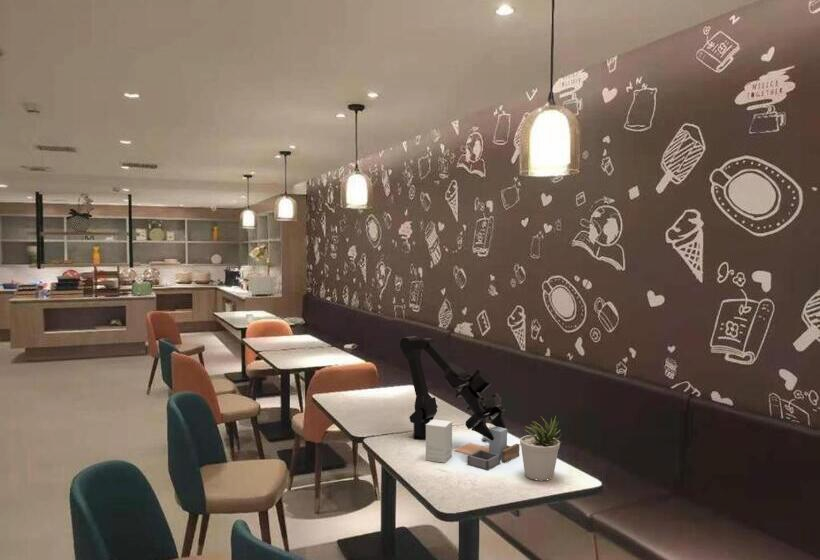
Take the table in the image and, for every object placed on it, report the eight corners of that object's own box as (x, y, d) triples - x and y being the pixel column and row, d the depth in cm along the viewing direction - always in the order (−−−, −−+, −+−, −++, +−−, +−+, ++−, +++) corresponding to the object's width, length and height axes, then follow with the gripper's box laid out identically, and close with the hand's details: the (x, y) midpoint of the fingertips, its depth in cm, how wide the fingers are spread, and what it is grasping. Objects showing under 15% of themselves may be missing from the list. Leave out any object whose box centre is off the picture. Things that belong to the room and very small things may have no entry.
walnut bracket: (482, 456, 207) (482, 445, 206) (497, 449, 214) (497, 438, 214) (505, 462, 201) (505, 451, 201) (519, 455, 209) (519, 444, 209)
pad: (454, 451, 212) (454, 449, 212) (469, 444, 220) (469, 442, 220) (478, 457, 206) (478, 456, 206) (492, 450, 214) (492, 448, 214)
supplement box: (452, 456, 207) (453, 421, 206) (444, 463, 200) (445, 426, 199) (433, 453, 210) (433, 418, 209) (424, 460, 203) (425, 423, 202)
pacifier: (478, 439, 227) (485, 443, 222) (478, 423, 227) (485, 426, 222) (495, 437, 230) (502, 441, 224) (495, 421, 230) (502, 425, 224)
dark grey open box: (467, 464, 199) (467, 455, 199) (480, 458, 205) (480, 449, 205) (487, 470, 194) (487, 461, 194) (500, 463, 200) (500, 454, 200)
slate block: (488, 457, 207) (489, 429, 206) (495, 453, 210) (496, 426, 210) (500, 460, 204) (500, 431, 203) (506, 456, 207) (507, 428, 207)
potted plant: (536, 487, 180) (538, 423, 179) (511, 472, 193) (512, 411, 192) (569, 481, 185) (571, 419, 184) (543, 466, 198) (544, 408, 197)
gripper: (473, 391, 201) (500, 429, 195) (500, 382, 216) (527, 417, 210) (454, 410, 207) (480, 448, 200) (482, 400, 221) (507, 435, 215)
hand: (499, 436), depth 206 cm, fingers open, 9 cm apart
